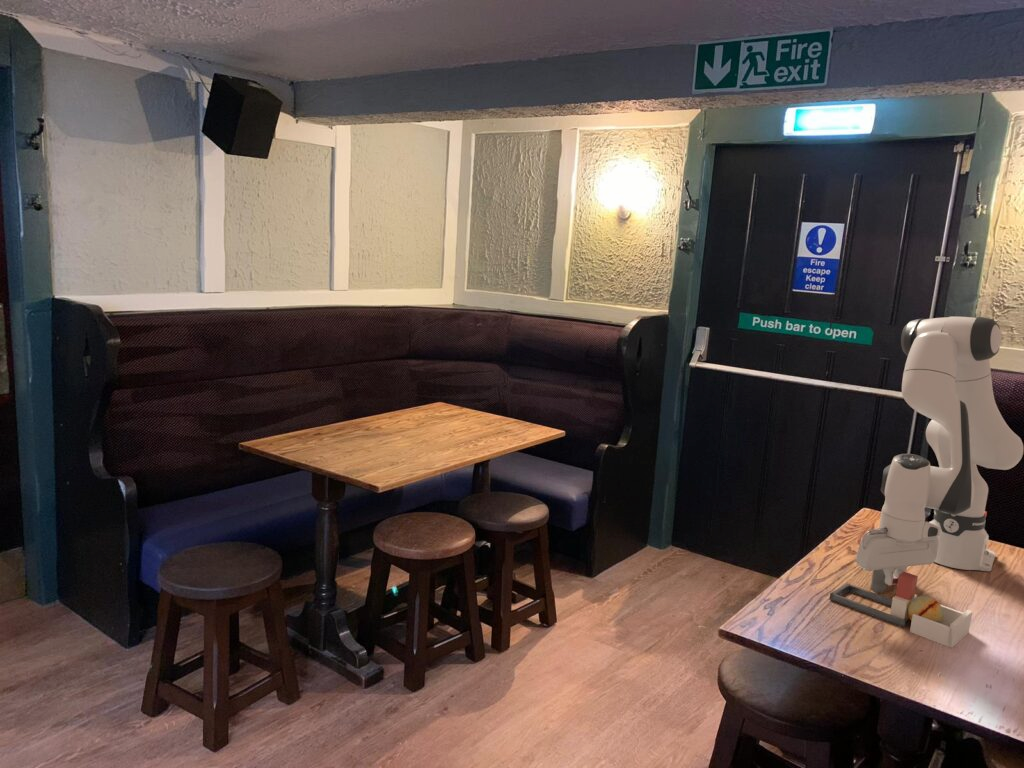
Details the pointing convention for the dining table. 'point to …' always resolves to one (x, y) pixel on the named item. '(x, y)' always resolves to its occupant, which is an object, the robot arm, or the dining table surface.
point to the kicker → (904, 595)
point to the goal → (943, 626)
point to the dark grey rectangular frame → (863, 608)
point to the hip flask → (878, 581)
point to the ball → (926, 608)
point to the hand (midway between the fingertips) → (892, 583)
